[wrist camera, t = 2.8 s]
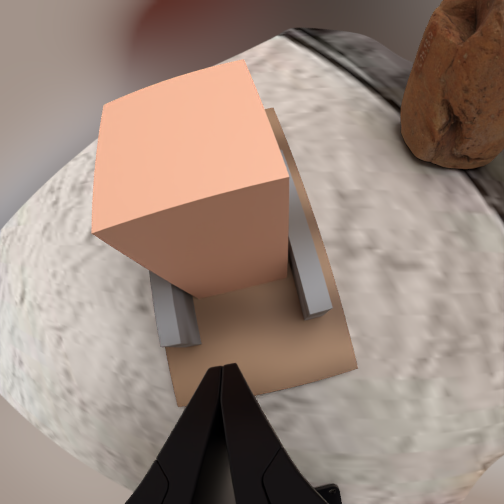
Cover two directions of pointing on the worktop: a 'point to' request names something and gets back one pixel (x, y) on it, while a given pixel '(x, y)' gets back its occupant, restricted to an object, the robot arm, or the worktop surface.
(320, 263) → the chute
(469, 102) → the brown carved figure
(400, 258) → the worktop surface
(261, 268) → the block
